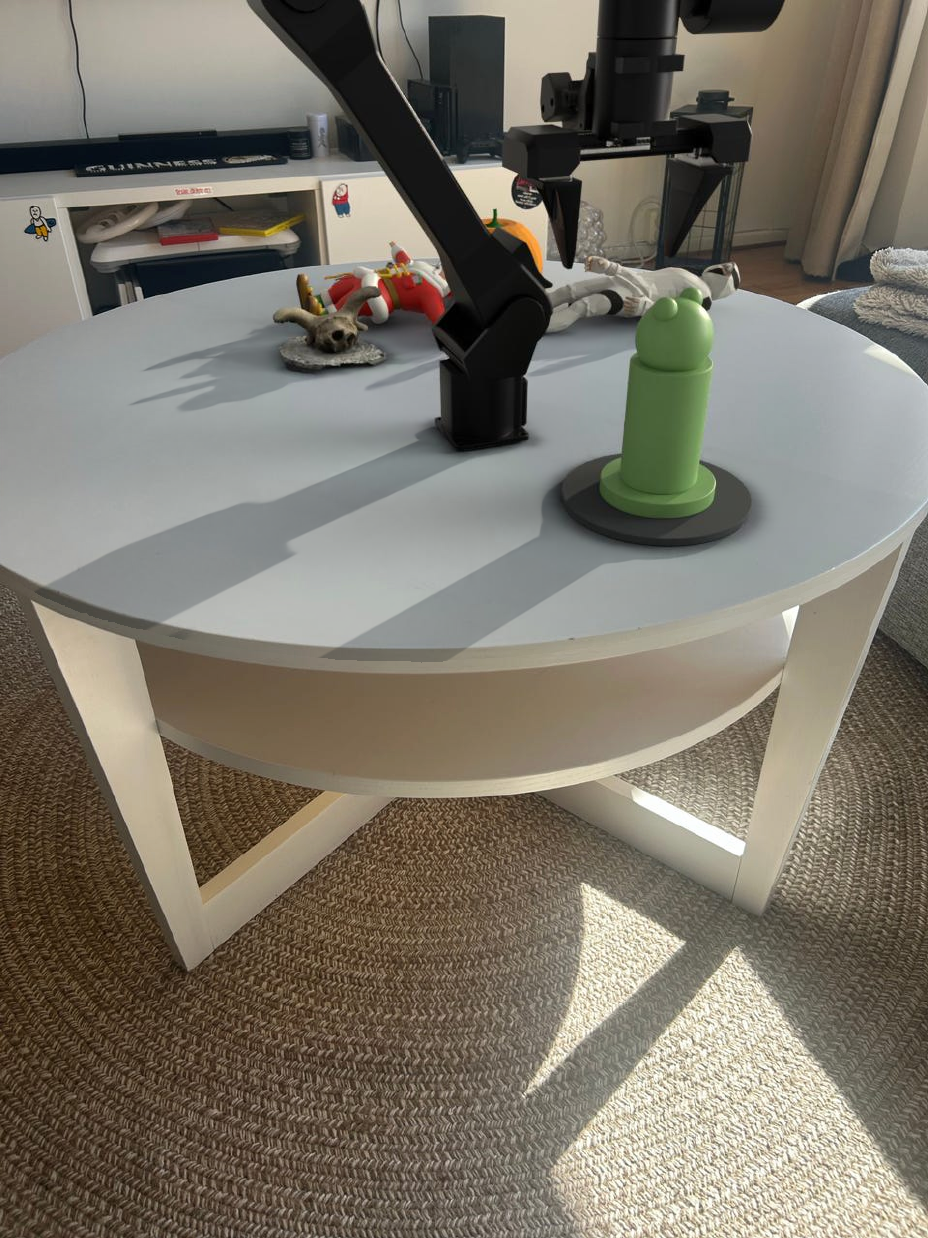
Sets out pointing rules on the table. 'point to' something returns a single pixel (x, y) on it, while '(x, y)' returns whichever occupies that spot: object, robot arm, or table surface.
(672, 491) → the toy
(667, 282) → the figurine
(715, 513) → the mat
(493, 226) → the fruit
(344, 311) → the skull
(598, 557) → the table surface
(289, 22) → the robot arm
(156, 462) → the table surface
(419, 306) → the santa figurine
